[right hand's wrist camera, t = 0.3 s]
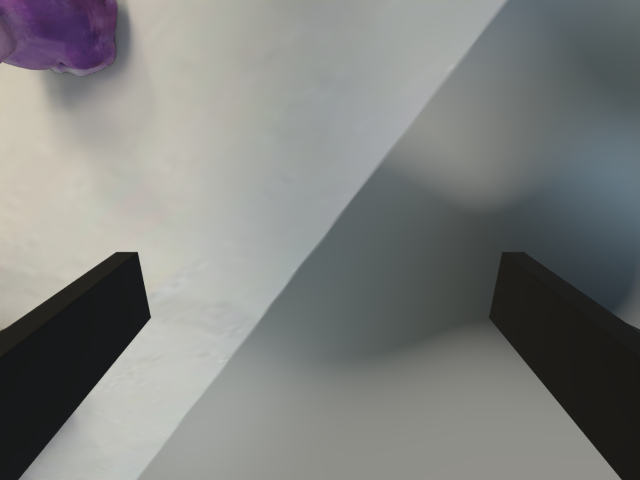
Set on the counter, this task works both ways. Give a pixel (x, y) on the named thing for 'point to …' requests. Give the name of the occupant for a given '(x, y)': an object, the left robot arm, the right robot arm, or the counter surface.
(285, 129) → the counter surface
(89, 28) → the figurine
